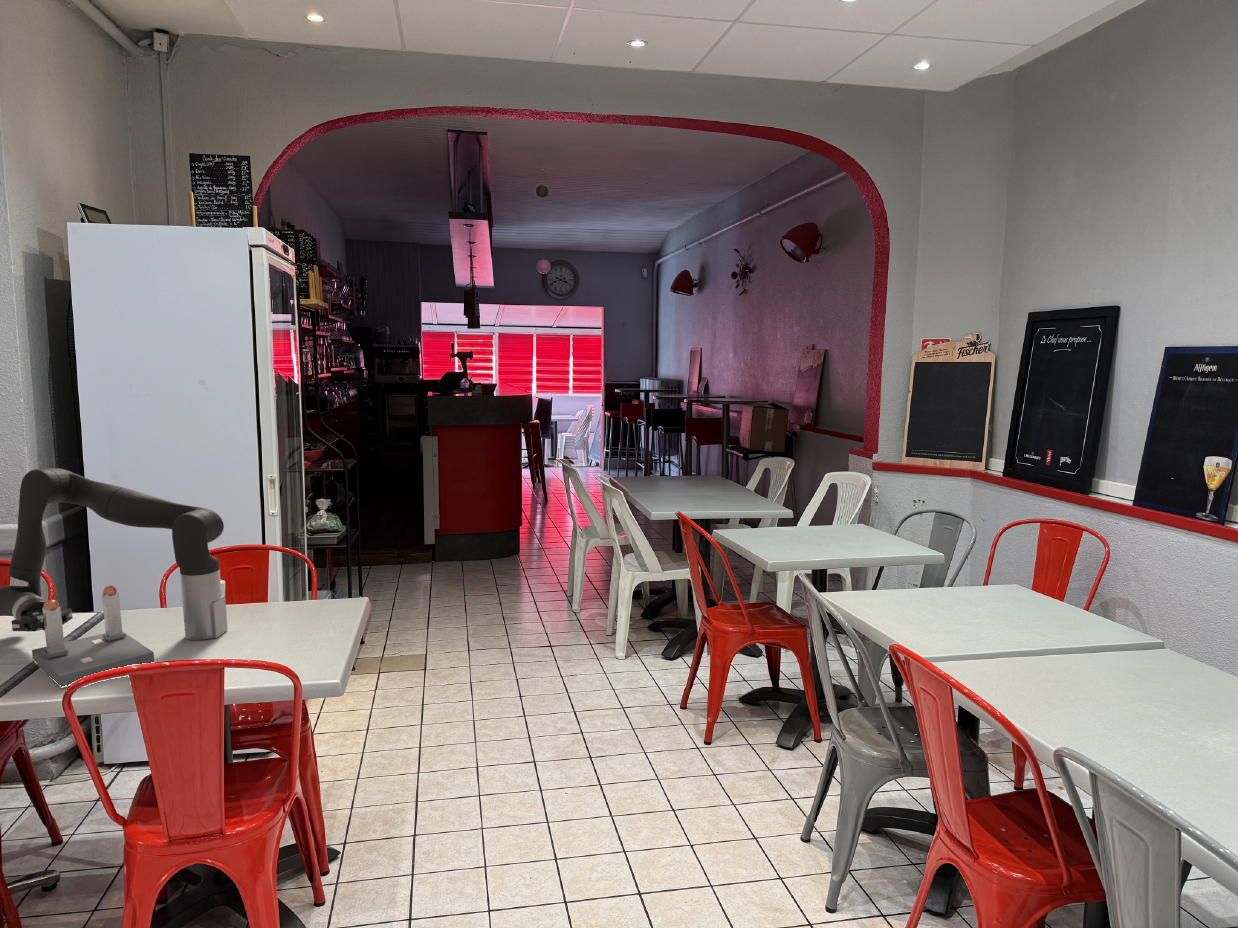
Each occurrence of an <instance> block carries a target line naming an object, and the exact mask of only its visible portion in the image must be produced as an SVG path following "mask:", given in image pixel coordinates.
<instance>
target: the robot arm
mask: <svg viewBox="0 0 1238 928" xmlns="http://www.w3.org/2000/svg"><path fill="white" fill-rule="evenodd" d="M18 501H19V502H18V517H17V530H16V531H17V532H16V539H15V545H14V548H13V552H12V555H11V560H10V563H9V567H8V572H7V573H8V576H10V577H11V578H13V579H16V580H19V581H21V582H22V581H23V582H26V583H27V585H4V586H3V585H2V586H0V614H1V615H5V616H9V617H13V618H14V619H13V620H11V621H10V622H11V628H12V629H11V631H12V632H33V633H34V632H37V631H38V632H39V631H43V632H45V627H44V618H43V608H44V607H43V606H44V604H45V602H46V601H47V599H45V598H43V596H42V589H41V588H42V587H41V585H42V584H41V575H42V570H43V565H44V562H45V559H46V554H47V541H46V537H45V533H44V529H43V517H44V513H45V511H46V508H47V506H48V504H56V503H67V504H71V505H72V504H73V505H78V506H82V507H85V508H88V509H90V510H92V512H94V513H95V514H96V515H98V517H100V518H102V519H104V520H106V521H109V522H112V523H117V524H119V525H123V526H128V527H134V528H148V529H149V528H151V529H168V530H171V537H172V538H171V540H172V544H173V553H174V560H175V562H176V564H177V567H178V569H179V576H180V590H181V601H182V612H183V623H184V625H183V626H184V635H185V639H187V640H191V641H203V640H208V639H216V638H217V639H218V638H219V637H220V636H222V635H223V634H224V633H226V632H227V631H228V618H227V617H228V616H227V606H226V605H227V604H226V602H227V601H226V595H225V596H222V594H221V581H220V580H221V570H220V560H219V559H218V558H217V557H215V556H213V555H212V556H211V555H210V549H209V543H211V542H213V541H216V539H218V538H219V537H220V536H221V535H222V534H223V531H224V528H225V527H224V525H225V523H224V521H223V519H222V517H221V516H220V515H219V514H218V513H217V512H216V511H214V510H212V509H210V508H206V507H201V506H200V507H199V506H193V505H187V504H183V503H177V502H173V501H170V500H167V499H164V498H161V497H157V496H154V495H150V494H147V493H144V492H140V491H137V490H133V489H130V488H127V487H124V486H123V487H122V486H118V485H115V484H114V485H113V484H110V483H107V482H106V483H105V482H100V481H95V480H94V479H93V480H92V479H90V478H87V477H85V476H82V475H80V474H78V473H74V472H72V471H70V470H67V469H64V468H59V467H49V468H47V467H46V468H36V469H32V470H30V471H28V472H26V473H25V474H24V476H23V477H22V479H21V483H20V488H19V500H18ZM61 618H62V626H64V625H65V624H67V623H69V621H71V620H72V619H73V610H72V608H67V609H65V610H61Z"/></svg>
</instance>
